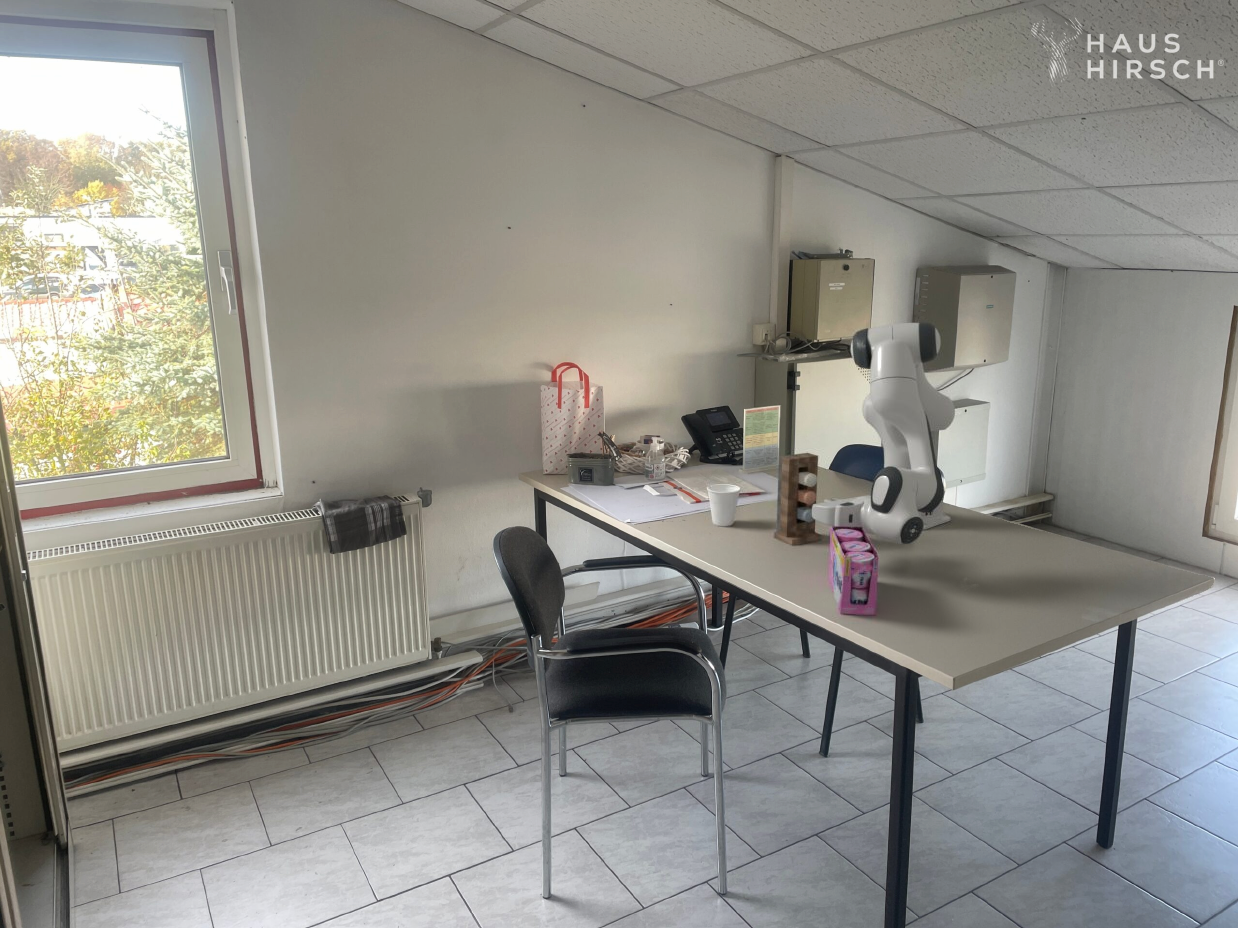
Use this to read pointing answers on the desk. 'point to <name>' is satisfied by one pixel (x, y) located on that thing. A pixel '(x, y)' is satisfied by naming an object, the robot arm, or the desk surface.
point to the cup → (723, 503)
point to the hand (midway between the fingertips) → (828, 501)
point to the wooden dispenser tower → (794, 499)
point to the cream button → (807, 479)
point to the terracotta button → (806, 496)
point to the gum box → (853, 570)
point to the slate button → (805, 514)
